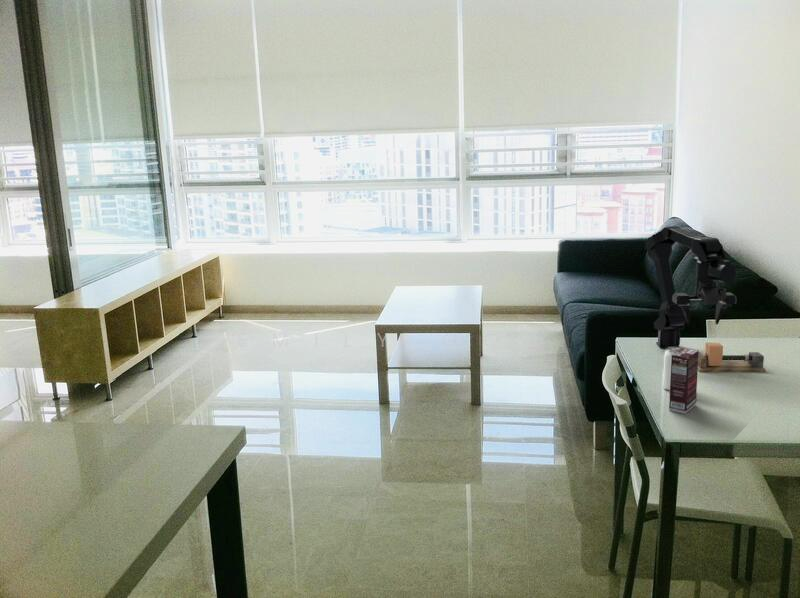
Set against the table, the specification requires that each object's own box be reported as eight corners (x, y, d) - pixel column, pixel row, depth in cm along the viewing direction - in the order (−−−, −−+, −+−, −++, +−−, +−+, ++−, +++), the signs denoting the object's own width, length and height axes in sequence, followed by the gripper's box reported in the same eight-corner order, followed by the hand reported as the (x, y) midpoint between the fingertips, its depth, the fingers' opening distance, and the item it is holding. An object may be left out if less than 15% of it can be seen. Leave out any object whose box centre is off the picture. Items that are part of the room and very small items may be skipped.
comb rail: (699, 371, 235) (700, 358, 234) (690, 363, 244) (691, 350, 243) (765, 372, 233) (766, 358, 232) (754, 363, 242) (756, 350, 241)
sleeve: (708, 365, 237) (709, 346, 236) (704, 361, 241) (705, 342, 240) (721, 365, 237) (723, 346, 235) (717, 361, 241) (718, 342, 239)
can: (682, 384, 224) (685, 346, 222) (688, 392, 218) (691, 352, 215) (660, 384, 225) (662, 346, 222) (665, 392, 219) (667, 352, 216)
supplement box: (678, 401, 211) (682, 347, 207) (696, 405, 208) (700, 350, 204) (667, 410, 204) (670, 354, 201) (685, 414, 201) (689, 357, 198)
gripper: (683, 282, 234) (680, 331, 237) (744, 281, 233) (741, 330, 236) (672, 275, 245) (670, 322, 248) (731, 275, 244) (728, 321, 247)
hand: (702, 324), depth 245 cm, fingers open, 9 cm apart
